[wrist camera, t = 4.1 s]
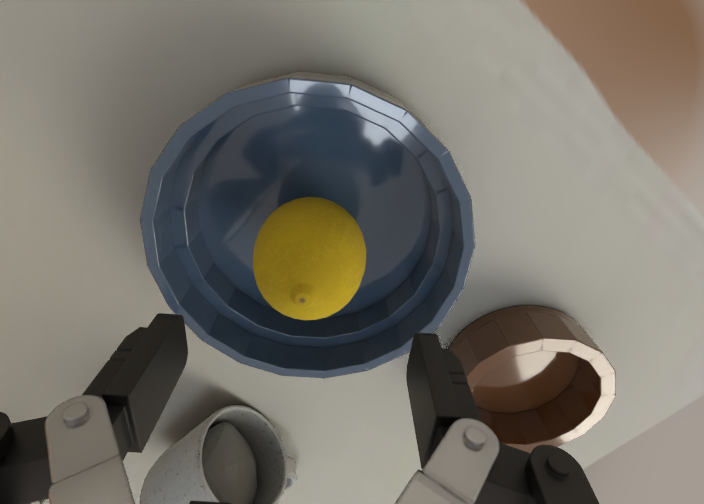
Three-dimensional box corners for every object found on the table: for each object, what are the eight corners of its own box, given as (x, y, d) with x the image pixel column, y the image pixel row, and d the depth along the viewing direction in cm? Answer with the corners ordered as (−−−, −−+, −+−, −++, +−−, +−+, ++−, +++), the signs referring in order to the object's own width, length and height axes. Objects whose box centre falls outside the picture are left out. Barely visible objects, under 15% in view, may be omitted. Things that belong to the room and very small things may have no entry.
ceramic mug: (156, 437, 32) (107, 544, 26) (219, 385, 30) (183, 487, 23) (259, 491, 36) (240, 597, 29) (322, 449, 34) (317, 553, 27)
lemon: (317, 157, 22) (303, 212, 15) (381, 226, 24) (397, 305, 17) (248, 220, 23) (206, 297, 16) (314, 280, 25) (302, 372, 18)
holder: (430, 409, 31) (440, 449, 28) (459, 299, 27) (474, 333, 24) (559, 417, 32) (582, 457, 29) (609, 310, 27) (643, 344, 24)
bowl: (190, 321, 27) (163, 368, 23) (160, 56, 20) (114, 59, 16) (425, 336, 28) (439, 385, 24) (481, 89, 21) (514, 100, 17)
